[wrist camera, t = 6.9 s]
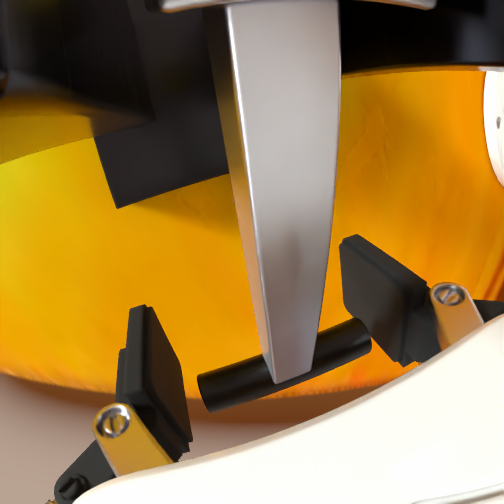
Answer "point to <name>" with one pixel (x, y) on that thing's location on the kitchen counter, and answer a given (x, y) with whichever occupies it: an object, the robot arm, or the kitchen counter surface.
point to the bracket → (186, 78)
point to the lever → (280, 180)
